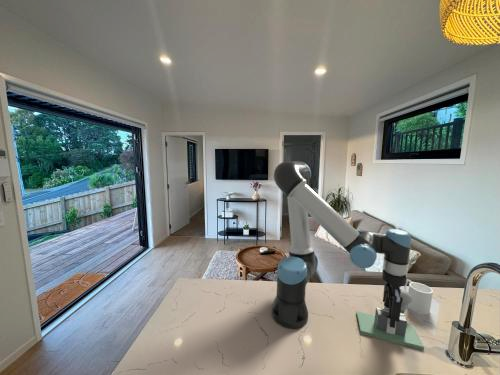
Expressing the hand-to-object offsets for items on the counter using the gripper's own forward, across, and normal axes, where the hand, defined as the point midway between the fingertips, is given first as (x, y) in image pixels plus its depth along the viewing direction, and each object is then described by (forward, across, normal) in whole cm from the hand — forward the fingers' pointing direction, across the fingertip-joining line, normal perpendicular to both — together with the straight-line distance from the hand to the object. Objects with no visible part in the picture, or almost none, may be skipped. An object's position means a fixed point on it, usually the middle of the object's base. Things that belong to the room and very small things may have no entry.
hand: (388, 328), depth 82 cm
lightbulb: (+2, +13, -8) cm, 15 cm away
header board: (+1, 0, 0) cm, 2 cm away
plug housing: (0, 0, 0) cm, 0 cm away
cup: (+2, +22, -16) cm, 27 cm away
